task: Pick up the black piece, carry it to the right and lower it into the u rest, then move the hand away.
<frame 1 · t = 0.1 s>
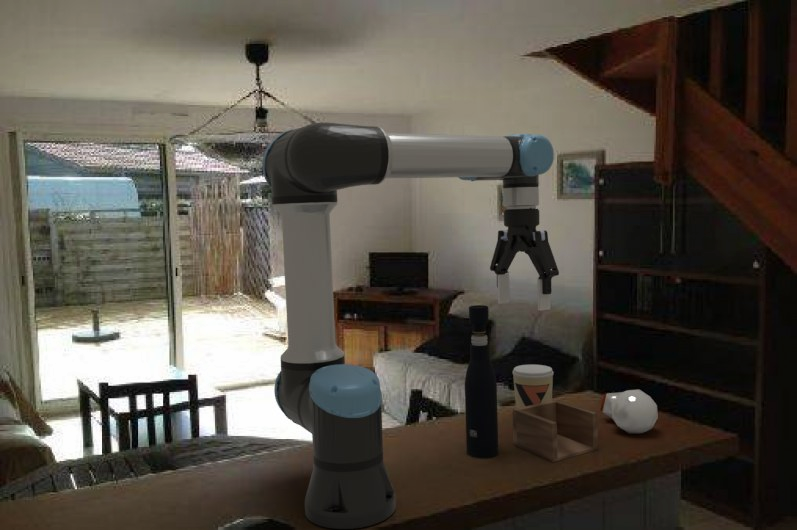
hand: (523, 306, 148), 28 cm above the breakfast bar, tool pointing down, fingers open, 13 cm apart
potion bottle: (626, 429, 152), on the breakfast bar
u rest: (554, 447, 141), on the breakfast bar
coffee cup: (533, 420, 160), on the breakfast bar
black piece: (482, 453, 140), on the breakfast bar
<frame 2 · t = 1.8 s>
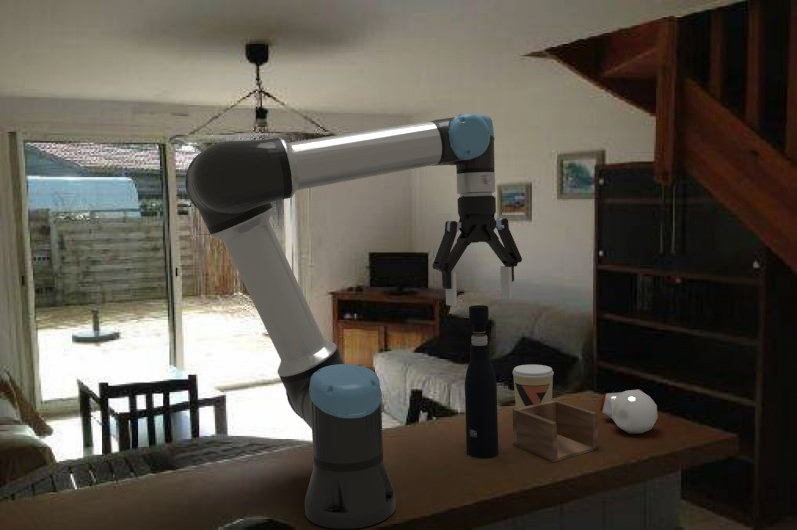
hand: (479, 301, 137), 31 cm above the breakfast bar, tool pointing down, fingers open, 13 cm apart
nothing on the breakfast bar moved.
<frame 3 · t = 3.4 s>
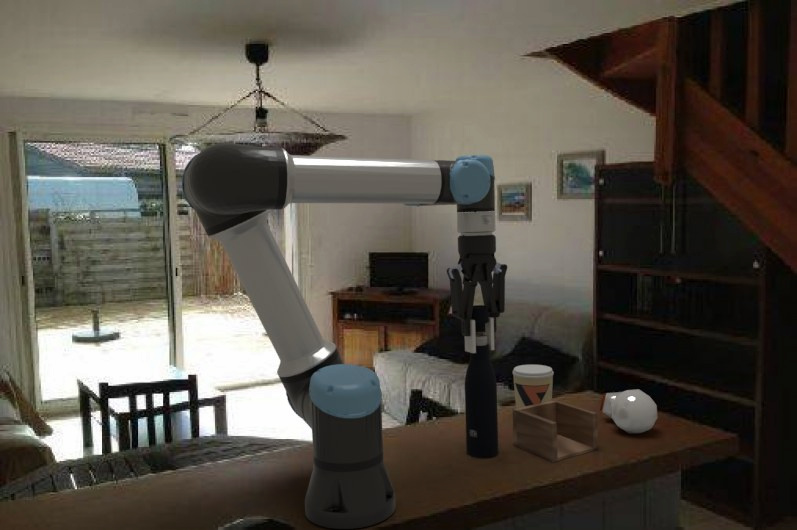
hand: (479, 350, 138), 21 cm above the breakfast bar, tool pointing down, fingers closed on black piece, 4 cm apart
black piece: (482, 453, 140), on the breakfast bar, touching gripper
everything else where it was.
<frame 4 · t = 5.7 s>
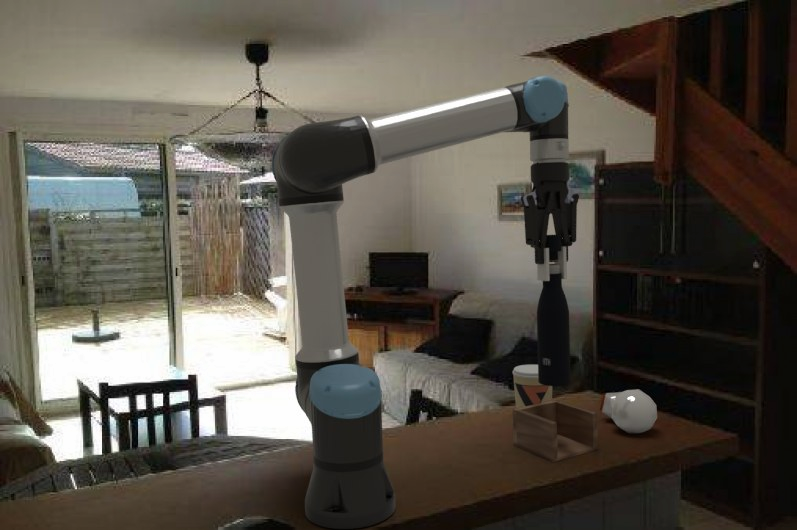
hand: (552, 279, 138), 35 cm above the breakfast bar, tool pointing down, fingers closed on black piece, 4 cm apart
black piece: (554, 383, 140), point 13 cm above the breakfast bar, touching gripper
everything else where it was.
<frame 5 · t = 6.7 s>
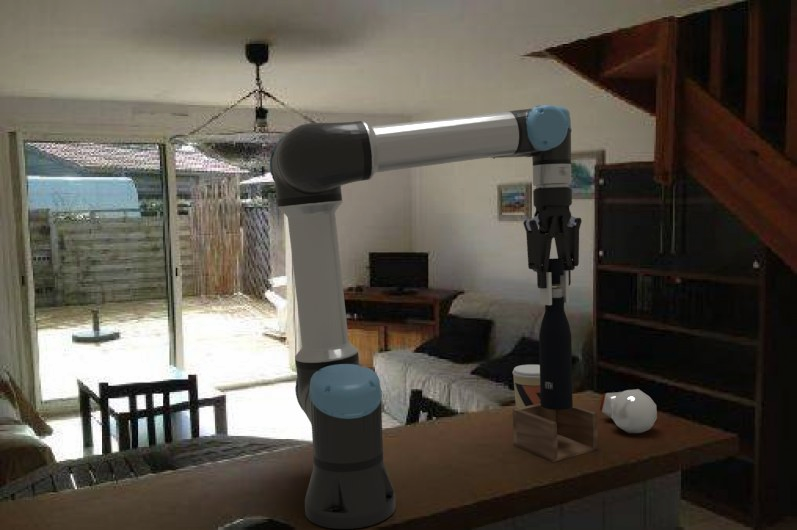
hand: (554, 303, 138), 30 cm above the breakfast bar, tool pointing down, fingers closed on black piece, 4 cm apart
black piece: (556, 406, 140), point 9 cm above the breakfast bar, touching gripper
everything else where it was.
when the fingers open (23 cm above the breakfast bar, at t = 8.1 s): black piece drops 1 cm, resting on u rest.
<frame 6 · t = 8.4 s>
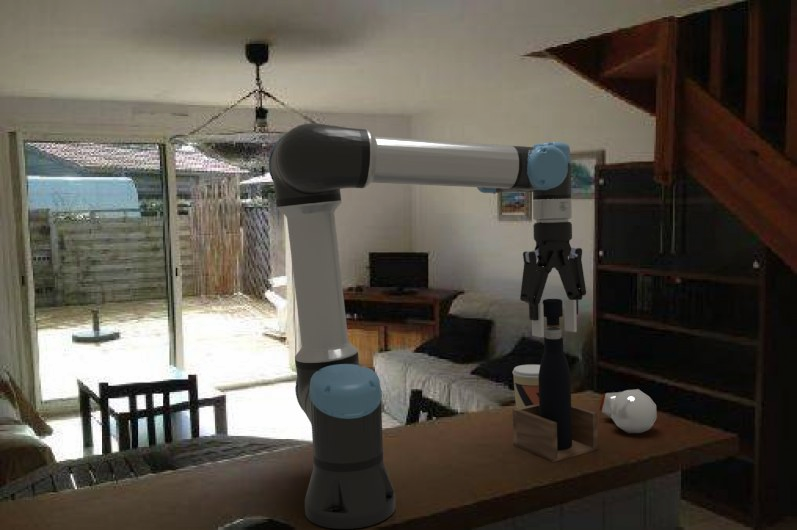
hand: (554, 333, 139), 24 cm above the breakfast bar, tool pointing down, fingers open, 8 cm apart
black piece: (556, 445, 141), point 1 cm above the breakfast bar, touching u rest
everything else where it was.
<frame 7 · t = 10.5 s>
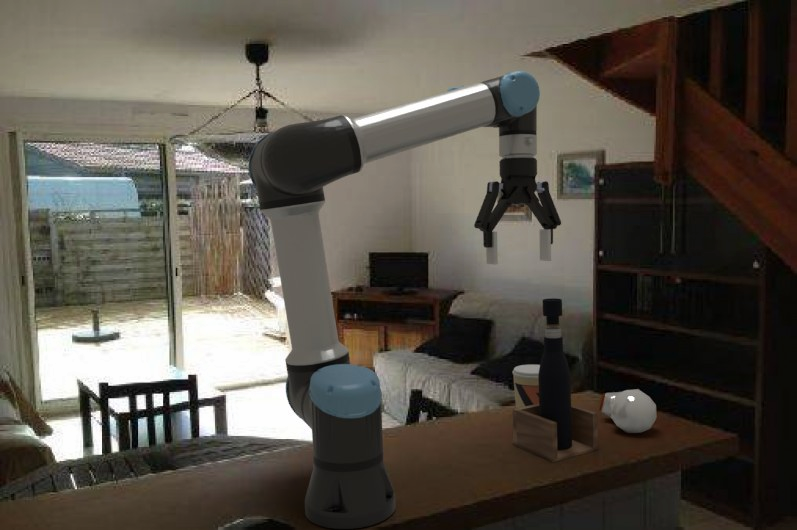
hand: (519, 262, 140), 38 cm above the breakfast bar, tool pointing down, fingers open, 13 cm apart
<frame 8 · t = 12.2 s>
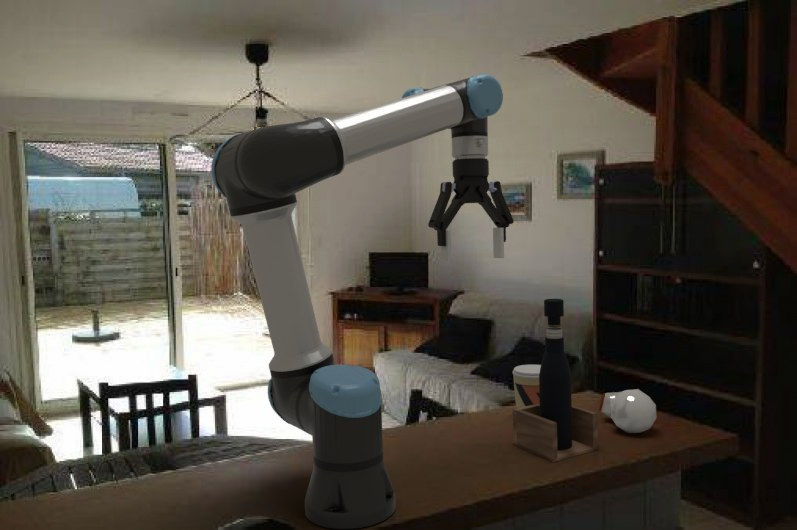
hand: (473, 260, 145), 39 cm above the breakfast bar, tool pointing down, fingers open, 13 cm apart
nothing on the breakfast bar moved.
at the end: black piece inside the target area on the u rest (0.3 cm from its centre), point 0.4 cm above the u rest's base; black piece tilted 0°; the gripper is holding nothing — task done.
